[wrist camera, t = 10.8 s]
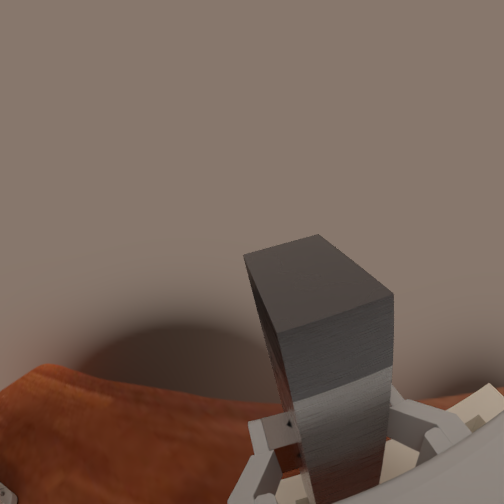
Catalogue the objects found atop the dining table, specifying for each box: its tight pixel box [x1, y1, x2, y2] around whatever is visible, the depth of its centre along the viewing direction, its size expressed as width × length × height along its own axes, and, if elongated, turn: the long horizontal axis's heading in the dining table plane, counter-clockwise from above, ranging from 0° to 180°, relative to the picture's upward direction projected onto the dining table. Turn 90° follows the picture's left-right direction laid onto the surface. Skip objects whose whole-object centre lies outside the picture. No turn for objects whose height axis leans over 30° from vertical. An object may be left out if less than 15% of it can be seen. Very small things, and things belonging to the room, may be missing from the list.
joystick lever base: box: [275, 383, 504, 504], centre depth 16 cm, size 22×10×6 cm, turn 100°
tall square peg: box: [243, 234, 394, 504], centre depth 11 cm, size 4×2×16 cm, turn 10°
